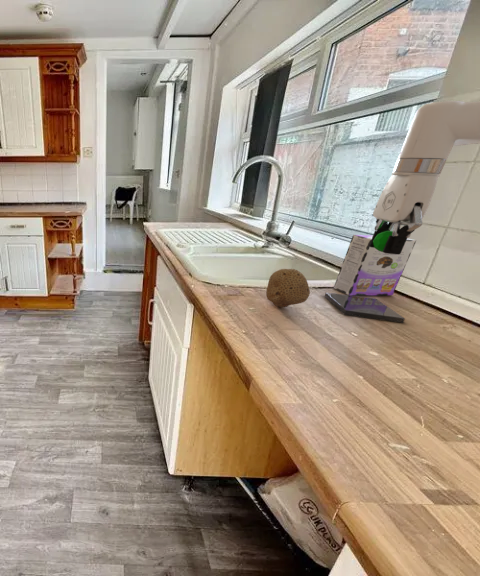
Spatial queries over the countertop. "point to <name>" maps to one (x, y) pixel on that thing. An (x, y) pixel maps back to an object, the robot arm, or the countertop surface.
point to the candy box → (371, 268)
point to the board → (363, 307)
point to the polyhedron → (381, 240)
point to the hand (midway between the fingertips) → (383, 249)
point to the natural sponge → (287, 288)
